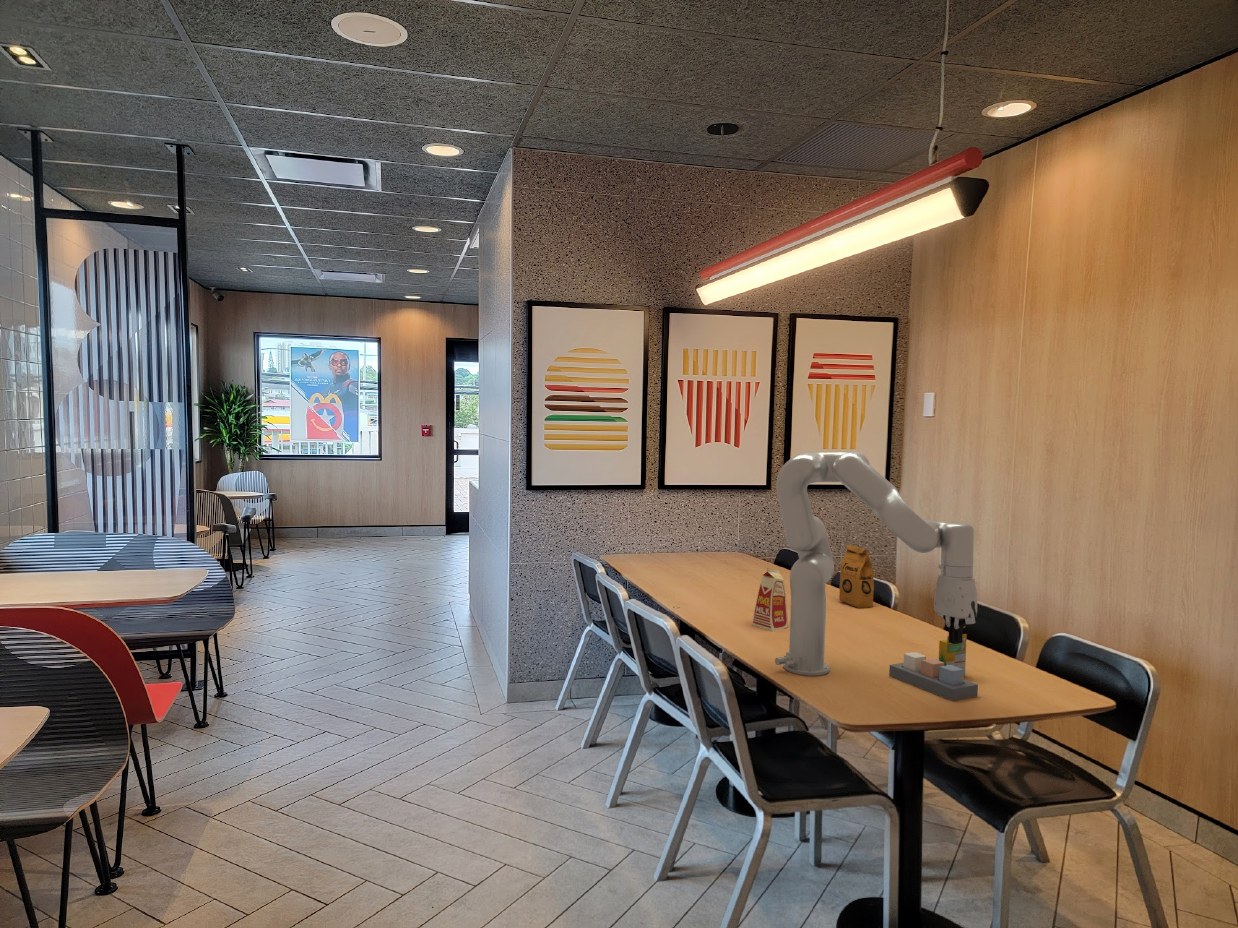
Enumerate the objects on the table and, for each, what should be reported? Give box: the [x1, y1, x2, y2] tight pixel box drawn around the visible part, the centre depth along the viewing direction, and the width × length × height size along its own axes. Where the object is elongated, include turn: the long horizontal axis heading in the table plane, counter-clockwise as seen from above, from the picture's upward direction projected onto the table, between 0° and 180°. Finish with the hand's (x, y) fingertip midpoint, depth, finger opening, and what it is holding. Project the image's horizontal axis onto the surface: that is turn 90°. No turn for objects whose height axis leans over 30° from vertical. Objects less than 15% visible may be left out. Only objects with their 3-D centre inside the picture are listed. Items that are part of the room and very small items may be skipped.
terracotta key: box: [921, 657, 944, 678], centre depth 208 cm, size 4×4×4 cm
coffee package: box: [838, 544, 875, 609], centre depth 299 cm, size 10×12×22 cm
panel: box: [888, 662, 979, 702], centre depth 208 cm, size 9×21×3 cm, turn 26°
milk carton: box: [751, 567, 789, 632], centre depth 265 cm, size 9×9×20 cm
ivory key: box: [903, 651, 927, 672], centre depth 214 cm, size 4×4×4 cm
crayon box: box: [938, 633, 968, 677], centre depth 217 cm, size 7×3×12 cm, turn 113°
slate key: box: [939, 665, 964, 686], centre depth 203 cm, size 4×4×4 cm
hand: (955, 642), depth 202 cm, fingers closed
